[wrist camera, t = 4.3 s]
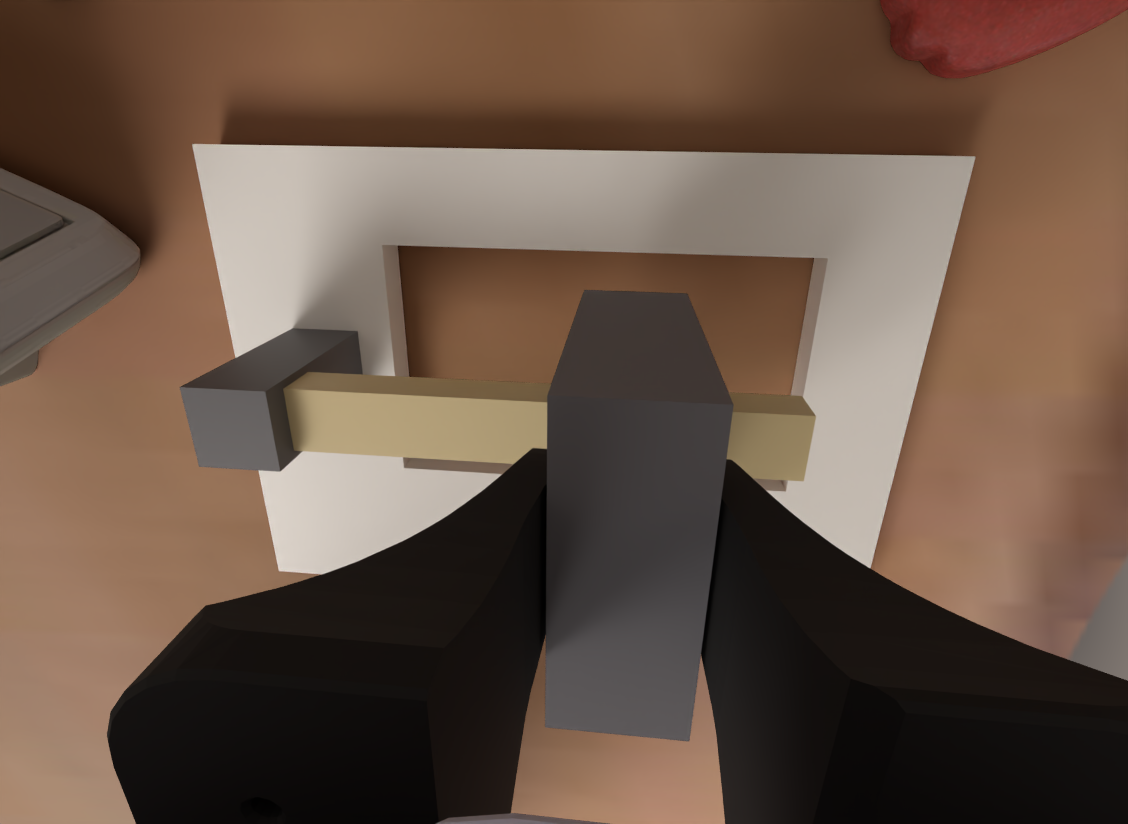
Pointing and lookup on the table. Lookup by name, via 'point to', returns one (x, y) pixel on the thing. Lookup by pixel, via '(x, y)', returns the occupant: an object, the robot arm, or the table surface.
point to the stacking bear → (988, 30)
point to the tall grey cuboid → (631, 514)
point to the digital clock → (52, 269)
